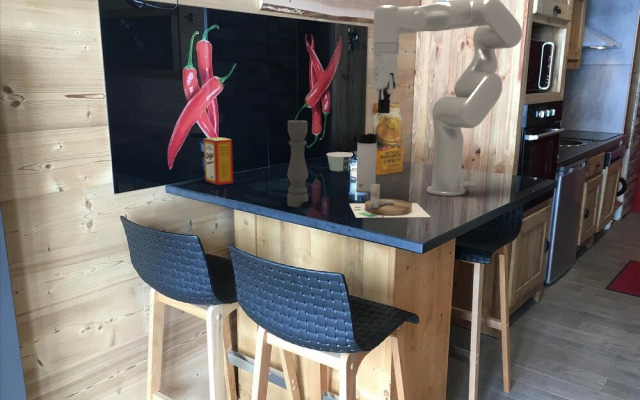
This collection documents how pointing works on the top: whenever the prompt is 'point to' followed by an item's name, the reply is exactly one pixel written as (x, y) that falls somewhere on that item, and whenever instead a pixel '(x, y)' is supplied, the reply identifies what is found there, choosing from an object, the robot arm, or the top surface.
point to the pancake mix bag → (388, 139)
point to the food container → (339, 161)
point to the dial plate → (362, 213)
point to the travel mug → (366, 162)
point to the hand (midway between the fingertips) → (383, 113)
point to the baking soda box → (218, 160)
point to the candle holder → (297, 164)
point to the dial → (386, 204)
